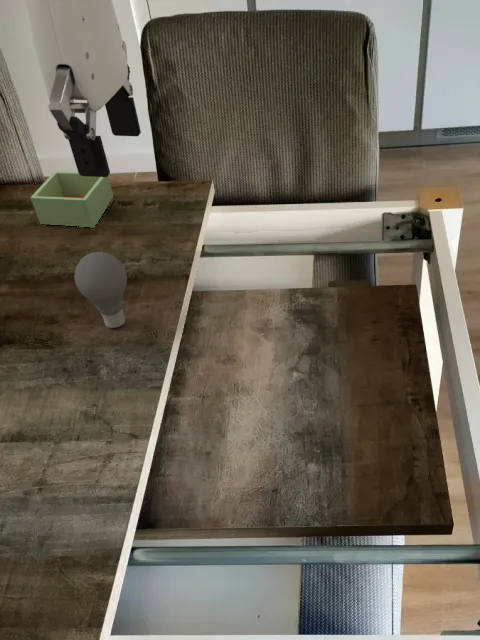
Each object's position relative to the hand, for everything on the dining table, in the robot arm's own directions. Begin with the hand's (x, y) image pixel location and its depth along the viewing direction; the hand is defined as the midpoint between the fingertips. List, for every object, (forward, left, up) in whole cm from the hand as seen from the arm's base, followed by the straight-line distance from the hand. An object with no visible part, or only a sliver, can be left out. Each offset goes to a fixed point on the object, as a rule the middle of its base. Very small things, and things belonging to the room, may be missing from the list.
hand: (111, 154), depth 70 cm
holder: (-20, +24, -21) cm, 38 cm away
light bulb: (-4, -3, -21) cm, 21 cm away
